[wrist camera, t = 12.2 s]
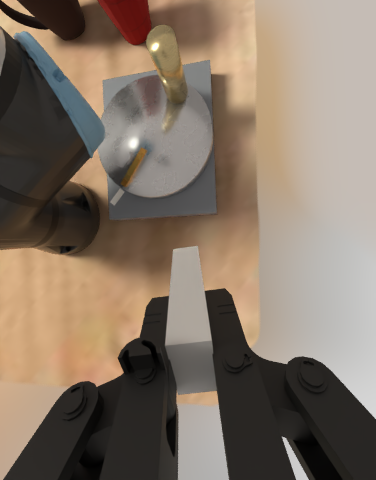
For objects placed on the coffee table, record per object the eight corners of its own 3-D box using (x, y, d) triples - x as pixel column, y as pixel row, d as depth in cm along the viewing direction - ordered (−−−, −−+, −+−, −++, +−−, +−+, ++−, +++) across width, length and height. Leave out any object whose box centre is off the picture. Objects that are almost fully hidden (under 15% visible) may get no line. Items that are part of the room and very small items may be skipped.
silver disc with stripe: (141, 220, 37) (106, 214, 26) (86, 133, 39) (30, 91, 28) (236, 153, 34) (242, 113, 23) (172, 61, 36) (148, -19, 25)
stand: (217, 214, 38) (216, 212, 35) (117, 220, 42) (108, 219, 38) (210, 73, 38) (209, 58, 35) (111, 91, 41) (101, 79, 38)
